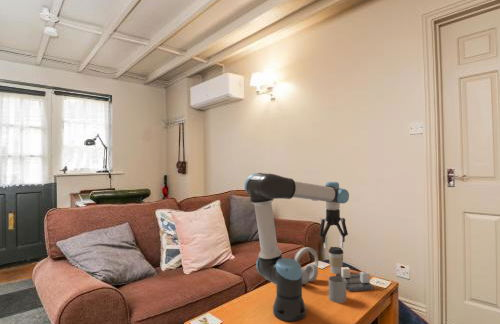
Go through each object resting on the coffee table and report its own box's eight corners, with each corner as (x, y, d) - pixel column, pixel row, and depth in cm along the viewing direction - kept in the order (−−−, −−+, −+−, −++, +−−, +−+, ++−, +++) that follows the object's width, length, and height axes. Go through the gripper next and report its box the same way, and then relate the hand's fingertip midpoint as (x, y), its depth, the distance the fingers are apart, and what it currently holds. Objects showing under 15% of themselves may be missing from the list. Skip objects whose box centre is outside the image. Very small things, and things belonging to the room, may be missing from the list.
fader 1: (343, 278, 166) (343, 269, 166) (341, 276, 169) (341, 267, 169) (350, 277, 166) (350, 268, 166) (347, 275, 169) (347, 266, 169)
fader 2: (362, 283, 158) (362, 273, 158) (360, 280, 161) (359, 271, 161) (369, 282, 159) (369, 273, 159) (366, 280, 162) (366, 271, 162)
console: (348, 291, 154) (348, 285, 154) (335, 277, 172) (335, 272, 172) (373, 289, 155) (373, 284, 155) (358, 276, 173) (358, 271, 173)
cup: (347, 303, 141) (346, 283, 141) (329, 302, 143) (329, 282, 143) (345, 295, 150) (344, 276, 150) (328, 294, 151) (328, 275, 151)
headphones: (299, 289, 157) (299, 252, 157) (289, 284, 164) (288, 249, 164) (322, 280, 169) (322, 246, 168) (312, 276, 175) (311, 243, 175)
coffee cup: (345, 270, 183) (345, 247, 183) (341, 275, 175) (341, 250, 175) (331, 268, 188) (330, 245, 187) (326, 272, 180) (326, 248, 180)
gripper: (316, 210, 162) (317, 250, 162) (354, 209, 164) (354, 249, 164) (312, 208, 169) (313, 246, 169) (348, 207, 171) (348, 245, 171)
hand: (333, 247), depth 167 cm, fingers open, 9 cm apart
